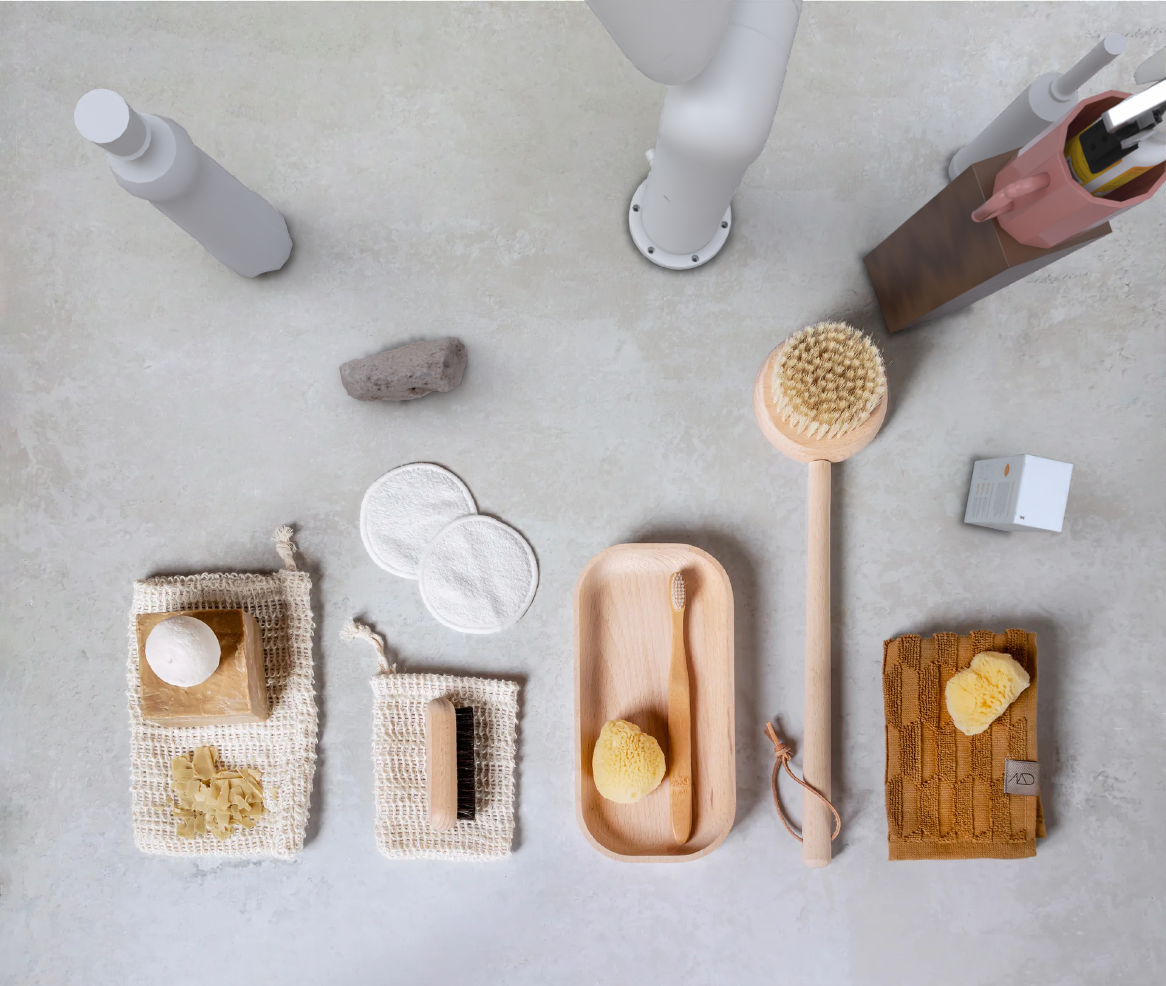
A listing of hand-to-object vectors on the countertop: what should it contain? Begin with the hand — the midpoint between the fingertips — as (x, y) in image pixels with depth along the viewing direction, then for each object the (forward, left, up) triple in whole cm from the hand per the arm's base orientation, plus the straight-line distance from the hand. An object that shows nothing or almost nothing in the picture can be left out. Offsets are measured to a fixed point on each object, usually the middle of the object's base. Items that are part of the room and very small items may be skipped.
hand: (1127, 140), depth 55 cm
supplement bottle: (0, 0, -5) cm, 5 cm away
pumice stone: (-10, -63, -35) cm, 73 cm away
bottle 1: (-31, -75, -35) cm, 88 cm away
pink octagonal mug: (0, -2, -10) cm, 10 cm away
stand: (0, 0, -35) cm, 35 cm away
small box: (+28, 0, -35) cm, 45 cm away
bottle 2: (-11, +11, -35) cm, 39 cm away
